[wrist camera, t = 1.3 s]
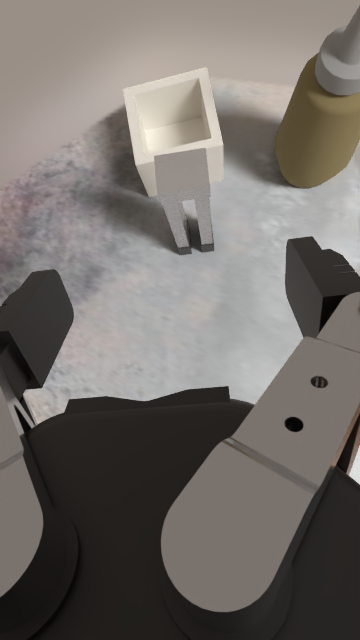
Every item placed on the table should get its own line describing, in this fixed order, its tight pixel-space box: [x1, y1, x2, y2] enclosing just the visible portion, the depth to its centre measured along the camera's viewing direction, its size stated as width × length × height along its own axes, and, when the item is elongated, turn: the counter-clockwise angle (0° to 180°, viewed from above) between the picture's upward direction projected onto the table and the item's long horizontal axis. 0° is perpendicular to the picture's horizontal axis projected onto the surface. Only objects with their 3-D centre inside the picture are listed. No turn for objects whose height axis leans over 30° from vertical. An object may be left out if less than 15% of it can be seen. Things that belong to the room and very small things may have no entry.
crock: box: [123, 67, 223, 197], centre depth 38 cm, size 9×9×6 cm
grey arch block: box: [154, 148, 214, 255], centre depth 32 cm, size 4×3×14 cm
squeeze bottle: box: [275, 6, 360, 188], centre depth 30 cm, size 8×8×18 cm
